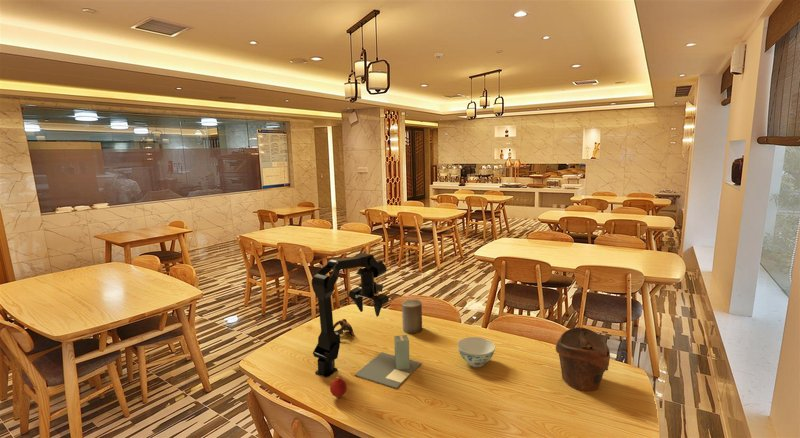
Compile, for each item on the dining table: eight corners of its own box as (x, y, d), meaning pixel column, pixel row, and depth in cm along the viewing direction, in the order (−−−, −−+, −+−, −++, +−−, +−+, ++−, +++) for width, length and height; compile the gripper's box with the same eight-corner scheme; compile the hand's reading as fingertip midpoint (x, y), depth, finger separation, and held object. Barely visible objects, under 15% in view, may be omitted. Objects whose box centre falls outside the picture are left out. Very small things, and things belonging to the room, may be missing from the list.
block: (409, 368, 158) (409, 339, 156) (397, 370, 157) (396, 341, 155) (407, 362, 163) (406, 334, 161) (395, 363, 162) (394, 335, 160)
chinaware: (495, 374, 154) (495, 355, 152) (456, 371, 157) (456, 352, 155) (494, 355, 168) (494, 338, 167) (458, 352, 171) (458, 335, 170)
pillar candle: (425, 327, 196) (425, 298, 194) (416, 335, 188) (415, 305, 186) (408, 324, 201) (408, 295, 199) (398, 331, 193) (397, 301, 191)
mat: (396, 388, 145) (396, 387, 145) (354, 375, 155) (354, 374, 155) (421, 363, 162) (421, 362, 162) (381, 353, 172) (381, 351, 172)
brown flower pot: (579, 402, 135) (582, 352, 133) (543, 372, 154) (545, 328, 152) (622, 393, 140) (626, 345, 137) (582, 365, 159) (585, 323, 156)
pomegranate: (339, 390, 145) (338, 370, 144) (350, 396, 141) (349, 375, 140) (327, 398, 141) (326, 377, 139) (338, 404, 137) (337, 383, 136)
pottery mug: (355, 339, 186) (346, 327, 183) (337, 348, 187) (328, 336, 184) (355, 323, 197) (346, 311, 194) (338, 331, 198) (330, 319, 195)
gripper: (395, 279, 175) (396, 311, 179) (362, 271, 186) (365, 302, 189) (380, 287, 166) (381, 321, 170) (346, 279, 177) (349, 311, 180)
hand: (369, 313), depth 178 cm, fingers open, 9 cm apart
